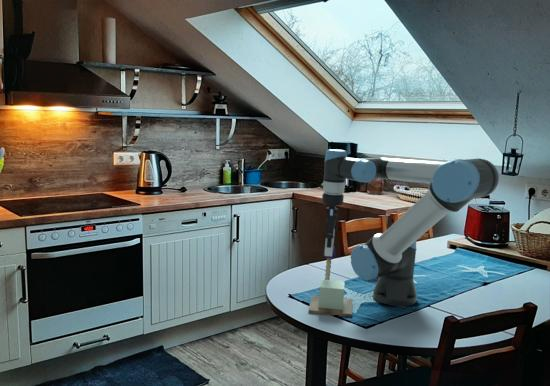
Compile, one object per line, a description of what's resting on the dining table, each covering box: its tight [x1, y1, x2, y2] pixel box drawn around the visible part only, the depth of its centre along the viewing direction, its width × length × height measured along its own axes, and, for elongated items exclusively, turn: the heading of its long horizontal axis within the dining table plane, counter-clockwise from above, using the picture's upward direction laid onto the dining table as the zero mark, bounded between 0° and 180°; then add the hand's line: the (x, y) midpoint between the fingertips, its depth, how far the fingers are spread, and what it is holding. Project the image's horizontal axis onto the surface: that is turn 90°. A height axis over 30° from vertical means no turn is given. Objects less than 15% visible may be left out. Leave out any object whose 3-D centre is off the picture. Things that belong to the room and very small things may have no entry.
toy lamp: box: [323, 245, 337, 280], centre depth 198 cm, size 5×5×17 cm
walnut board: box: [308, 294, 353, 318], centre depth 183 cm, size 14×14×1 cm
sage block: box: [318, 279, 346, 310], centre depth 182 cm, size 8×8×7 cm
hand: (329, 250), depth 197 cm, fingers open, 13 cm apart
